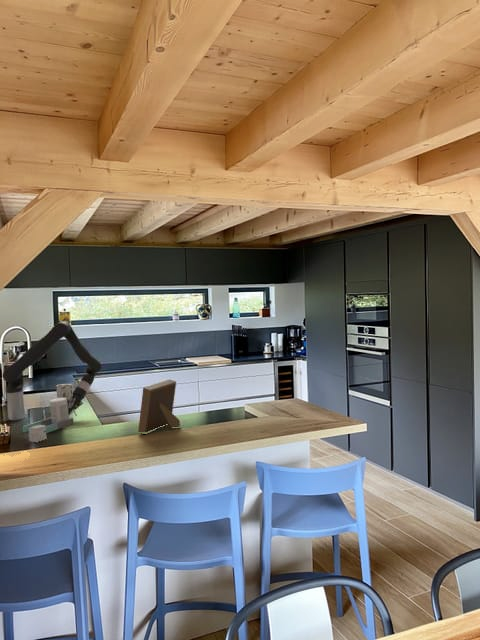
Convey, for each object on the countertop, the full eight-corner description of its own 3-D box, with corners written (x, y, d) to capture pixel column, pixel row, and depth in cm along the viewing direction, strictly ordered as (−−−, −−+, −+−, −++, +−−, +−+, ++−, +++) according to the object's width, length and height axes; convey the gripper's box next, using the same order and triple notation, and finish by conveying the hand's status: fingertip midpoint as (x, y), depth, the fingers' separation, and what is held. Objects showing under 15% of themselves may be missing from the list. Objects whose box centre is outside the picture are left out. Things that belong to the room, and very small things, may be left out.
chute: (23, 432, 266) (22, 426, 265) (56, 421, 285) (55, 415, 284) (40, 434, 258) (40, 428, 258) (73, 423, 277) (73, 417, 276)
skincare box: (37, 442, 244) (35, 428, 243) (29, 441, 247) (28, 427, 246) (47, 439, 249) (45, 425, 249) (39, 438, 252) (38, 424, 252)
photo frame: (138, 434, 245) (134, 386, 244) (164, 423, 264) (161, 378, 263) (160, 437, 238) (157, 388, 236) (186, 425, 257) (183, 380, 255)
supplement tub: (69, 421, 284) (67, 396, 283) (69, 424, 275) (67, 399, 274) (52, 423, 281) (49, 399, 280) (51, 427, 272) (49, 402, 271)
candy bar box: (77, 407, 320) (74, 383, 319) (73, 409, 315) (71, 384, 314) (61, 407, 322) (59, 383, 321) (57, 409, 317) (55, 385, 316)
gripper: (70, 386, 293) (55, 410, 283) (85, 387, 286) (70, 412, 276) (78, 392, 298) (63, 416, 288) (92, 393, 291) (78, 418, 281)
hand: (67, 414), depth 282 cm, fingers closed
